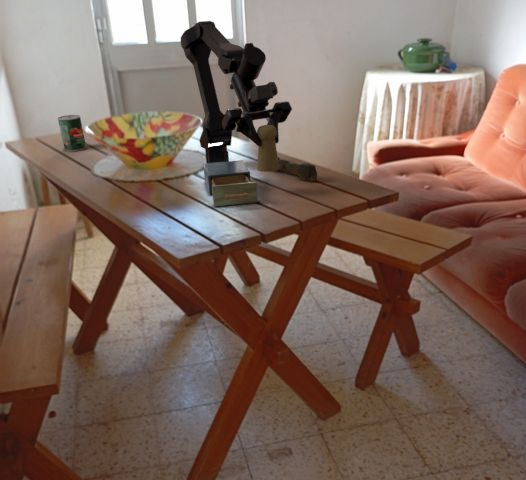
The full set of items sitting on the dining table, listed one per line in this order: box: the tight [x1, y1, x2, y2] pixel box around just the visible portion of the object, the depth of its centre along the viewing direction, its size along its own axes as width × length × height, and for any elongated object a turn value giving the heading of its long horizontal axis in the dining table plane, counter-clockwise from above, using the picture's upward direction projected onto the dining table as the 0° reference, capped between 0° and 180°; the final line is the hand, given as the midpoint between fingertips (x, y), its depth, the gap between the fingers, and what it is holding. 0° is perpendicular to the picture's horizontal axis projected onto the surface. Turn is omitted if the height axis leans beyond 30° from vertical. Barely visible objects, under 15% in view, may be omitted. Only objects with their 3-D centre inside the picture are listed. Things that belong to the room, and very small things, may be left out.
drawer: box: [211, 174, 258, 207], centre depth 149 cm, size 16×12×5 cm
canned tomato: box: [57, 114, 87, 152], centre depth 203 cm, size 8×8×11 cm
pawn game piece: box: [256, 124, 279, 173], centre depth 148 cm, size 6×6×11 cm
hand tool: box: [277, 156, 318, 182], centre depth 165 cm, size 19×4×5 cm, turn 36°
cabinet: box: [202, 159, 251, 197], centre depth 159 cm, size 13×12×6 cm
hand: (268, 144), depth 146 cm, fingers closed on pawn game piece, 5 cm apart
